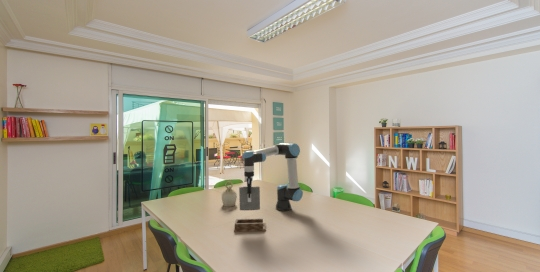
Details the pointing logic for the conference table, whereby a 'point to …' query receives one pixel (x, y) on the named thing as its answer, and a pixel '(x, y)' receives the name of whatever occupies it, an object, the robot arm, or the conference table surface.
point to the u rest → (249, 225)
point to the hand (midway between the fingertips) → (249, 200)
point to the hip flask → (254, 198)
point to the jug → (229, 196)
